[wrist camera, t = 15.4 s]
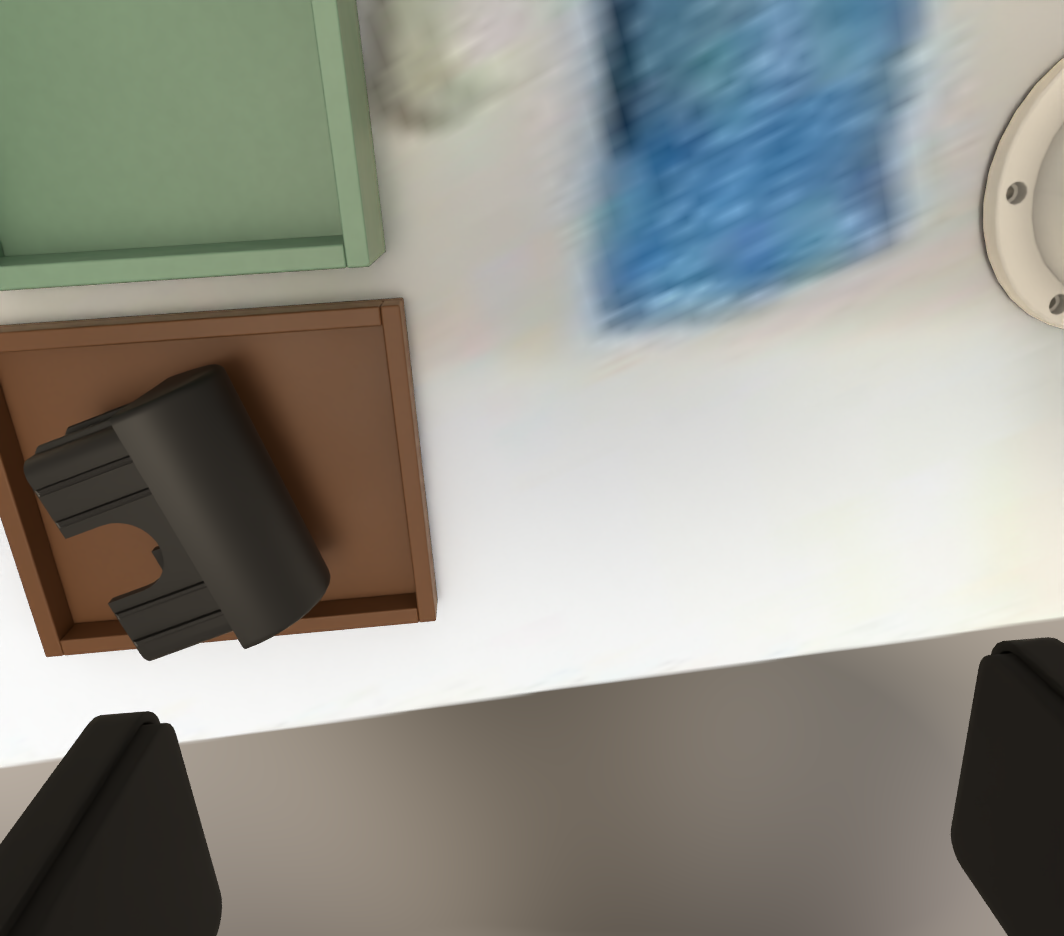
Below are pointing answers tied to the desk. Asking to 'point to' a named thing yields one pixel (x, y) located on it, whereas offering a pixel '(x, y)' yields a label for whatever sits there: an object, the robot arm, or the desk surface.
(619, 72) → the desk surface
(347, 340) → the tray
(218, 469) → the end cap
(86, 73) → the tote
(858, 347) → the desk surface
